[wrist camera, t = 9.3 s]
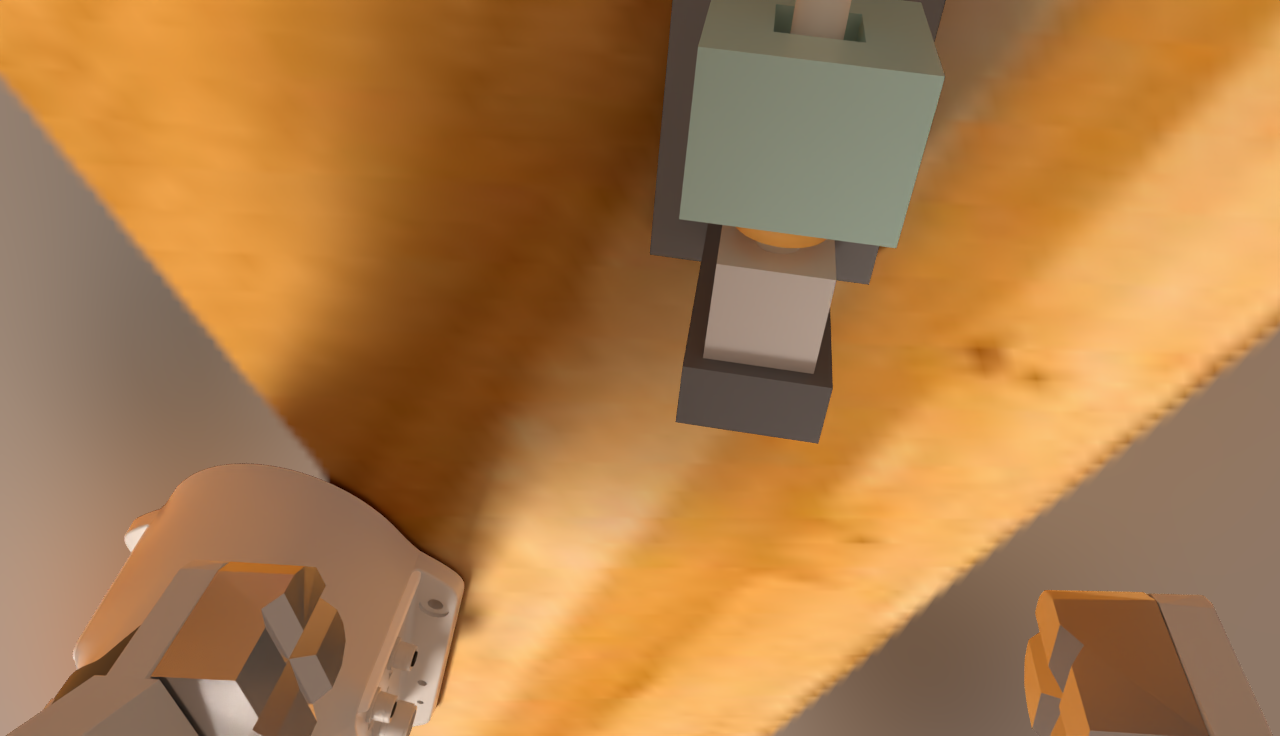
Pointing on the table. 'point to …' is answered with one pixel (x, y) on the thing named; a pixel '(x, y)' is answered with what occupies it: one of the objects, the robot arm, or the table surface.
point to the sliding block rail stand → (752, 271)
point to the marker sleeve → (810, 120)
